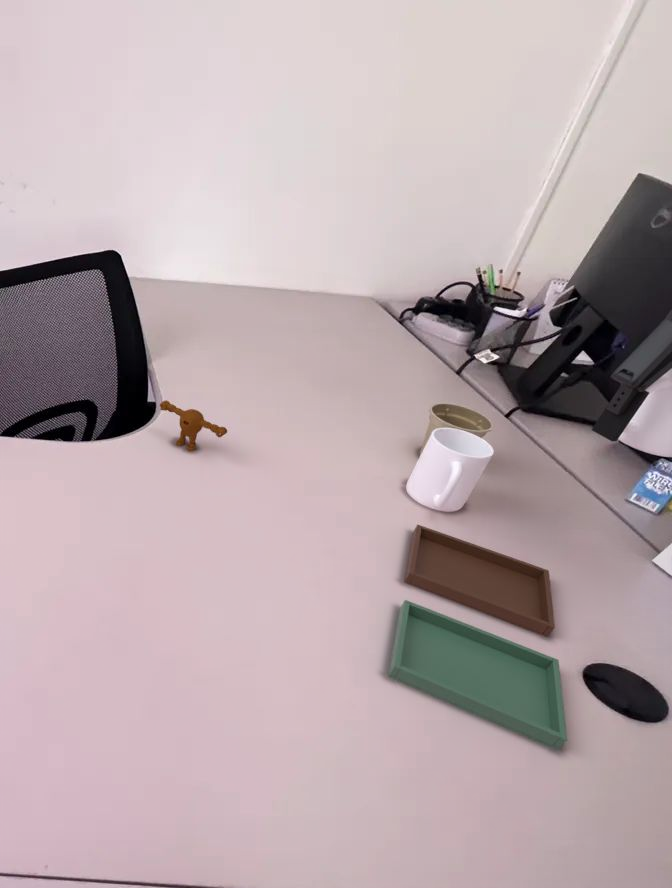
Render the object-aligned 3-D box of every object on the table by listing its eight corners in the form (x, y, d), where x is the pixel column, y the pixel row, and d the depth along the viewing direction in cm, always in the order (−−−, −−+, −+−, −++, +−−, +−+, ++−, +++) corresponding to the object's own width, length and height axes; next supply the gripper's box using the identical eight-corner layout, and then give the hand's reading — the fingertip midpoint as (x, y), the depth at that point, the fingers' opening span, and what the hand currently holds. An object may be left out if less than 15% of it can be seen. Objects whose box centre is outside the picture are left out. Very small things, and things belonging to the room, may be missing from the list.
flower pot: (396, 448, 116) (417, 404, 111) (438, 443, 119) (460, 400, 114) (437, 479, 109) (462, 433, 104) (481, 473, 112) (507, 428, 107)
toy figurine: (148, 436, 112) (156, 400, 108) (161, 428, 114) (169, 393, 111) (210, 467, 106) (221, 430, 102) (222, 459, 108) (233, 422, 104)
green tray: (549, 671, 77) (558, 659, 76) (556, 752, 68) (567, 740, 67) (398, 611, 83) (405, 599, 82) (387, 677, 74) (394, 666, 73)
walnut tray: (541, 581, 90) (548, 570, 89) (546, 639, 81) (555, 627, 80) (411, 535, 96) (417, 524, 95) (403, 584, 87) (409, 572, 86)
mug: (628, 463, 79) (684, 384, 74) (568, 427, 86) (615, 352, 80) (702, 457, 82) (761, 381, 76) (638, 422, 89) (688, 350, 83)
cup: (462, 493, 106) (492, 438, 100) (462, 533, 97) (496, 476, 91) (405, 475, 109) (432, 421, 103) (401, 513, 100) (430, 456, 94)
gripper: (798, 246, 77) (678, 411, 90) (648, 245, 71) (541, 422, 83) (879, 268, 71) (739, 440, 84) (724, 268, 65) (597, 455, 77)
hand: (640, 432), depth 83 cm, fingers closed on mug, 12 cm apart
